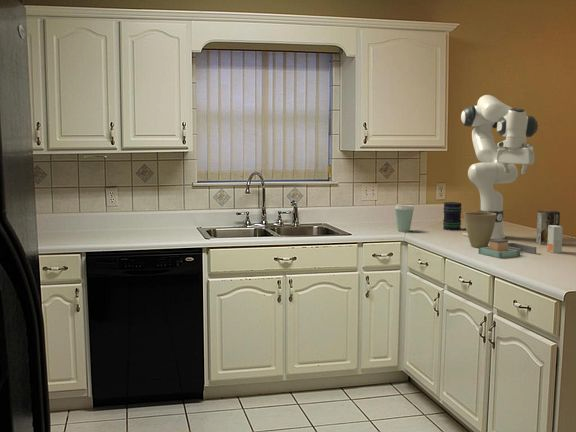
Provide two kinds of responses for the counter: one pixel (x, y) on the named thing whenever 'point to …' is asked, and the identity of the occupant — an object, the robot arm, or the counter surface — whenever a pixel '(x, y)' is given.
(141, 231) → the counter surface
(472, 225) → the plant pot
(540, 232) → the coffee box
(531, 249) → the bay
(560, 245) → the skincare box
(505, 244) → the orange-topped grey box
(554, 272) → the counter surface
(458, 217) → the storage jar
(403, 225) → the disposable coffee cup
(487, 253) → the tray
